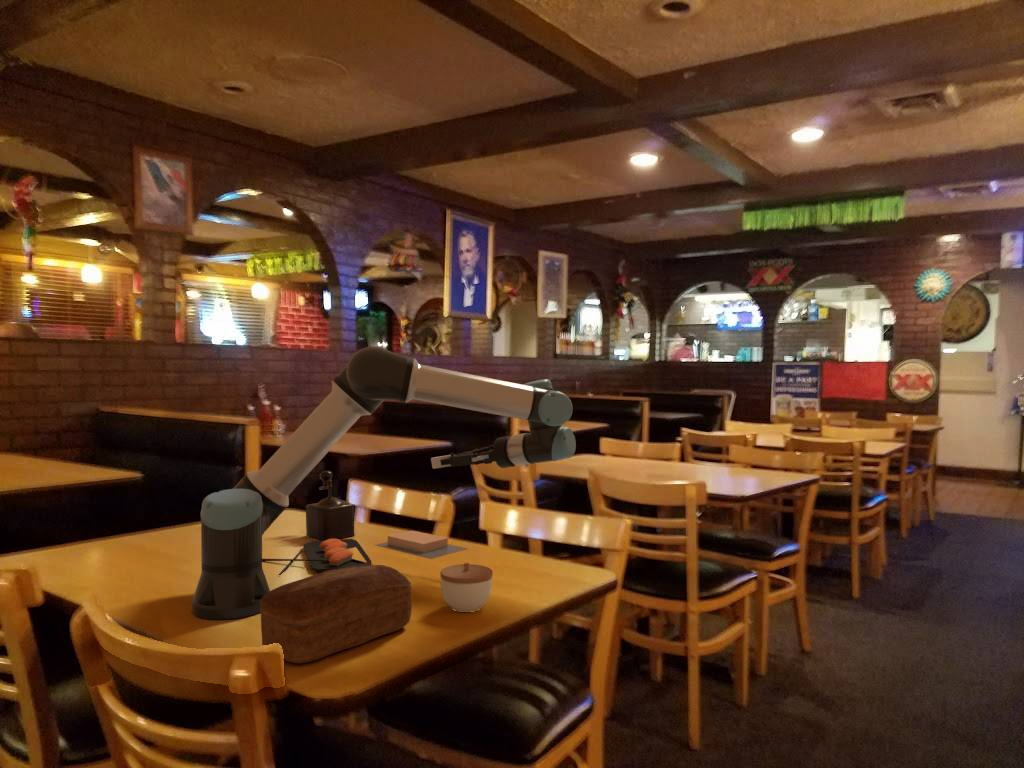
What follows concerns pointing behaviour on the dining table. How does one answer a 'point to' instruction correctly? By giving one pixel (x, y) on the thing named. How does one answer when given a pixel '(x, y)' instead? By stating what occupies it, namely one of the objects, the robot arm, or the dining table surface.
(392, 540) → the tile
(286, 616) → the bread
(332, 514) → the pepper mill
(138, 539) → the dining table surface
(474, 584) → the lidded jar
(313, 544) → the sushi plate
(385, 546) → the board
